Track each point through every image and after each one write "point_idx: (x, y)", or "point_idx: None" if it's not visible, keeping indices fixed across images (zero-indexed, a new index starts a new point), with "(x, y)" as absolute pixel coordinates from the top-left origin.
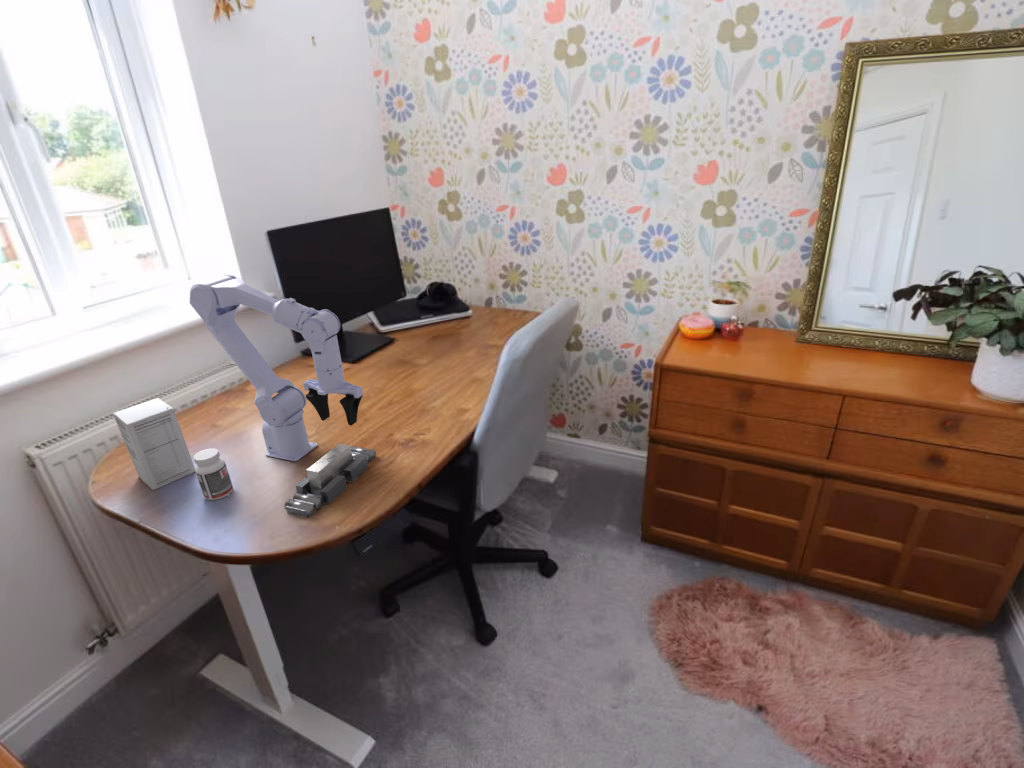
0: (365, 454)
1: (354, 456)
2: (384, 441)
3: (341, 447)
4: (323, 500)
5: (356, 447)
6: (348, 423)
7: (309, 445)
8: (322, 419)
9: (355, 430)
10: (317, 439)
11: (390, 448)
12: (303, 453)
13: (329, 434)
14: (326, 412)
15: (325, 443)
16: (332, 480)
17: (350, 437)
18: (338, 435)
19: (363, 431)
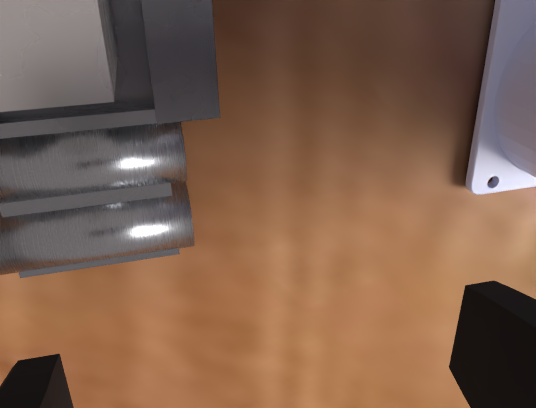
0: (31, 209)
1: (73, 145)
2: (108, 380)
3: (10, 40)
4: None
5: (149, 239)
6: (43, 371)
7: (507, 158)
8: (491, 290)
9: (349, 377)
10: (499, 233)
11: (6, 349)
12: (498, 69)
13: (461, 295)
14: (504, 400)
15: (433, 223)
16: None
17: (332, 323)
18: (409, 309)
19: (301, 390)
